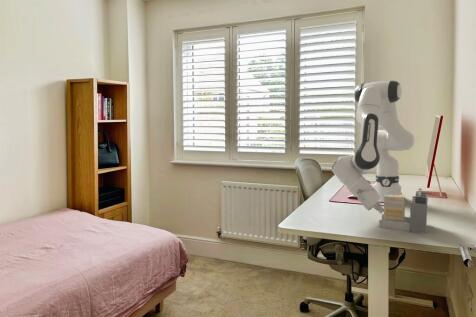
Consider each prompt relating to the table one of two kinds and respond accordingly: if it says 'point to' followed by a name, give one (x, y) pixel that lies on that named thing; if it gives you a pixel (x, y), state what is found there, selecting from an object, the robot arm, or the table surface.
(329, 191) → the table surface
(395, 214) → the supplement box
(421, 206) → the gray l-shaped stand
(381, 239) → the table surface
